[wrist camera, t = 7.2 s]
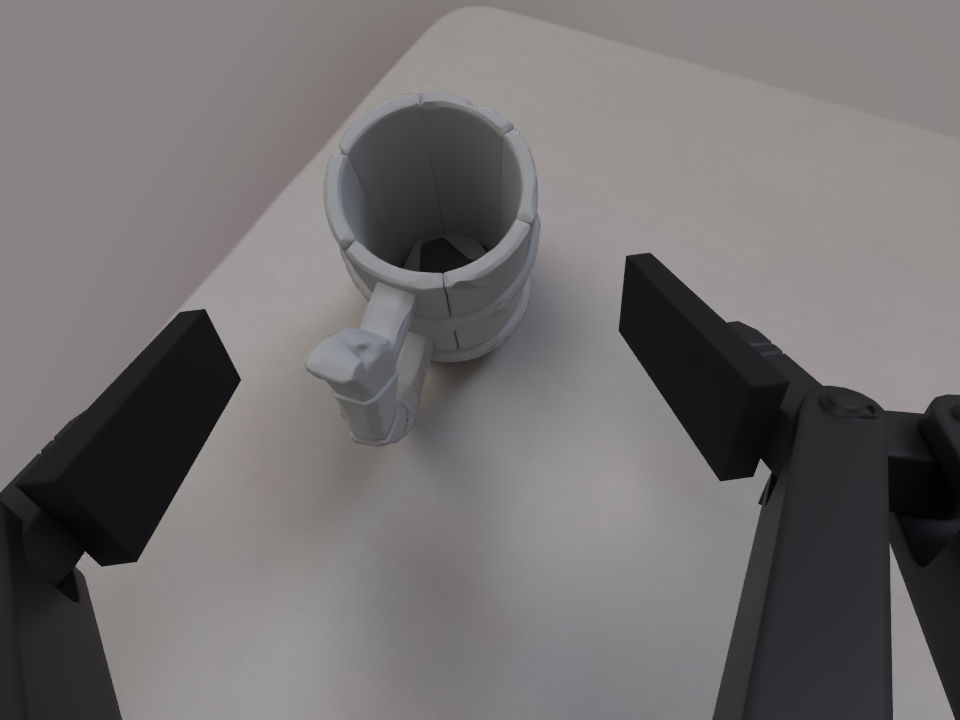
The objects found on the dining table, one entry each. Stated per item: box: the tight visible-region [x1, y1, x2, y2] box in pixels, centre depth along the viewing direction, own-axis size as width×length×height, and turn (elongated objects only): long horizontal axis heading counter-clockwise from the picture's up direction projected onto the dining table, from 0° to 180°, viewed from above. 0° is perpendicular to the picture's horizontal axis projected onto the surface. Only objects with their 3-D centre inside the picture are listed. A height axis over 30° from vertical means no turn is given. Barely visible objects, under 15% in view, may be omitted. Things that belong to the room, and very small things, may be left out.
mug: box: [305, 92, 541, 447], centre depth 16 cm, size 8×12×12 cm, turn 161°
